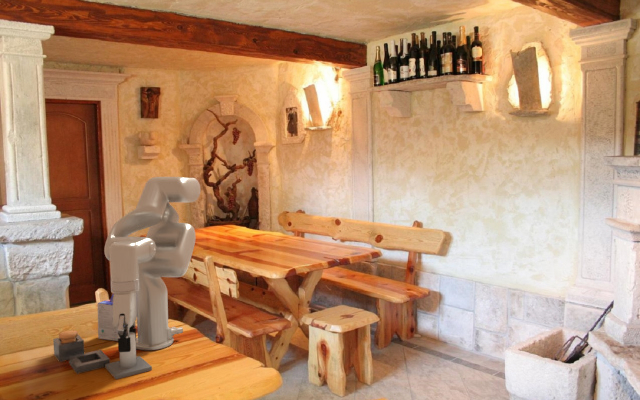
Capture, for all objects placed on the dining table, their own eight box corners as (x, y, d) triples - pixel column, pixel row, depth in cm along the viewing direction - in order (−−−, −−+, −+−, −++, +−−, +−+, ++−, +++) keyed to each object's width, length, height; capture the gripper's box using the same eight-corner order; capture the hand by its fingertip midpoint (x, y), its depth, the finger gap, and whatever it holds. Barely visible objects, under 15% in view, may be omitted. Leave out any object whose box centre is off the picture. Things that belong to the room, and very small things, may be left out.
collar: (100, 356, 163) (100, 349, 163) (109, 365, 156) (109, 359, 156) (69, 363, 158) (68, 356, 158) (77, 373, 151) (76, 366, 150)
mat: (139, 359, 161) (139, 355, 161) (151, 370, 153) (151, 366, 153) (105, 367, 155) (105, 364, 155) (115, 379, 147) (115, 375, 147)
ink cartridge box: (133, 336, 180) (131, 294, 179) (122, 342, 175) (120, 298, 173) (109, 333, 183) (107, 292, 182) (97, 339, 178) (95, 296, 177)
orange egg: (75, 346, 167) (75, 329, 167) (80, 351, 163) (79, 333, 163) (57, 350, 164) (56, 332, 164) (61, 355, 160) (60, 337, 159)
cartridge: (122, 362, 156) (120, 332, 155) (137, 361, 157) (136, 331, 156) (118, 368, 152) (117, 337, 151) (134, 367, 152) (133, 337, 151)
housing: (78, 349, 169) (77, 334, 168) (84, 356, 163) (83, 340, 163) (54, 354, 164) (53, 338, 164) (59, 361, 159) (58, 345, 158)
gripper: (118, 278, 160) (120, 336, 161) (103, 294, 142) (105, 359, 144) (144, 277, 161) (146, 335, 162) (132, 293, 144) (134, 357, 145)
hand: (127, 346), depth 153 cm, fingers open, 6 cm apart
